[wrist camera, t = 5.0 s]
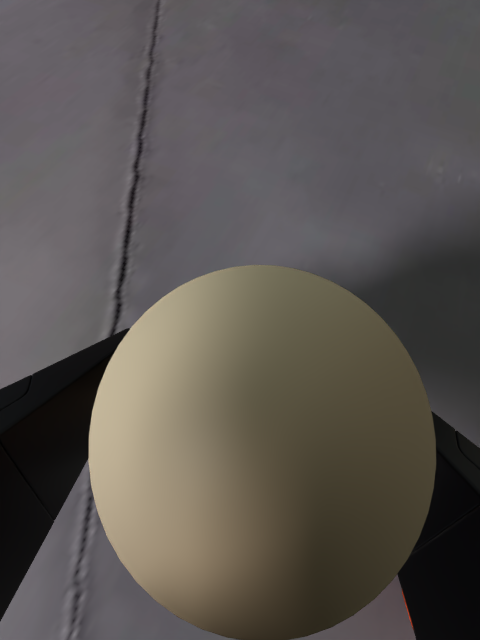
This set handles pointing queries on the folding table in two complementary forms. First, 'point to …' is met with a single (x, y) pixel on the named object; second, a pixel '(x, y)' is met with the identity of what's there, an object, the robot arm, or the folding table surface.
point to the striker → (262, 453)
